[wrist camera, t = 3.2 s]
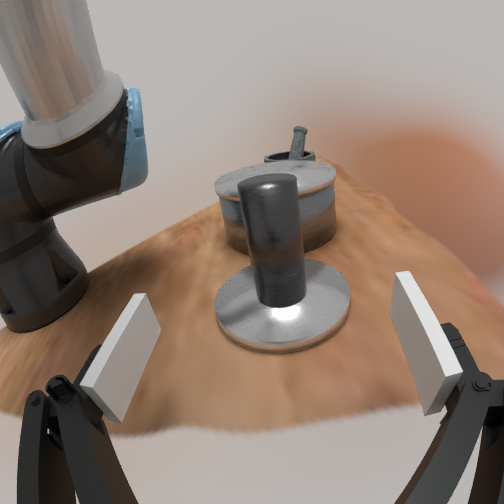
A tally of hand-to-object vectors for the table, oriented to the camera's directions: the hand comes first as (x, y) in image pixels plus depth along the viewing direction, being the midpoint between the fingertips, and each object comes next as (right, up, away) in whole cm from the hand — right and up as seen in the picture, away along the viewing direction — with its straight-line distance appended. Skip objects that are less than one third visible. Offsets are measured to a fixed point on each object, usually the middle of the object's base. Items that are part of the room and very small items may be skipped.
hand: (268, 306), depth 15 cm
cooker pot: (+3, +6, +26) cm, 27 cm away
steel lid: (+2, -2, +12) cm, 12 cm away
